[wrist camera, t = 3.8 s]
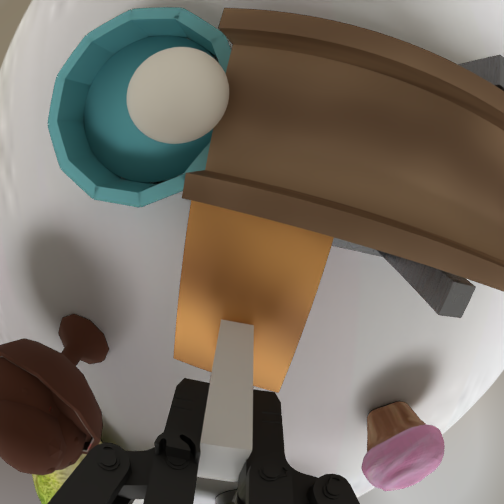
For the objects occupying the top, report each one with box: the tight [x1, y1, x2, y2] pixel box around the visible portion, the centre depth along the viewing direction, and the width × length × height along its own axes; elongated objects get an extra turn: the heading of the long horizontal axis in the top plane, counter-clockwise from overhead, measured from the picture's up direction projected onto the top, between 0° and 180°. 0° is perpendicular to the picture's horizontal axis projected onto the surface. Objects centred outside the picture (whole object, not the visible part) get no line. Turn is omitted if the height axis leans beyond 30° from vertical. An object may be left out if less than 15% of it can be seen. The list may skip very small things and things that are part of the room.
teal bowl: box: [48, 7, 231, 207], centre depth 15 cm, size 12×12×4 cm
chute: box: [174, 8, 504, 393], centre depth 12 cm, size 17×24×6 cm
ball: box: [127, 47, 229, 144], centre depth 10 cm, size 4×4×4 cm
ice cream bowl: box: [0, 314, 109, 475], centre depth 16 cm, size 11×11×15 cm
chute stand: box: [332, 55, 504, 318], centre depth 13 cm, size 13×22×10 cm, turn 78°
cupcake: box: [362, 402, 444, 491], centre depth 22 cm, size 9×9×10 cm
